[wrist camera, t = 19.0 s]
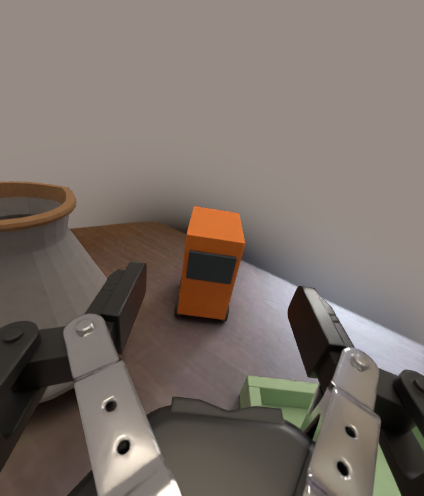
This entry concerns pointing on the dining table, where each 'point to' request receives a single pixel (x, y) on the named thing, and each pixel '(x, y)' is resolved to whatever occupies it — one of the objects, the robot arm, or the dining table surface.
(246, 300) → the dining table surface
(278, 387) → the green square tray
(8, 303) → the coffee pot
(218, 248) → the toy van
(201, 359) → the dining table surface
